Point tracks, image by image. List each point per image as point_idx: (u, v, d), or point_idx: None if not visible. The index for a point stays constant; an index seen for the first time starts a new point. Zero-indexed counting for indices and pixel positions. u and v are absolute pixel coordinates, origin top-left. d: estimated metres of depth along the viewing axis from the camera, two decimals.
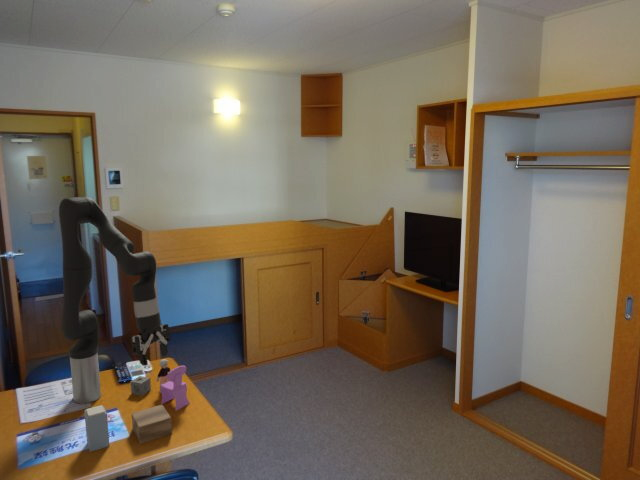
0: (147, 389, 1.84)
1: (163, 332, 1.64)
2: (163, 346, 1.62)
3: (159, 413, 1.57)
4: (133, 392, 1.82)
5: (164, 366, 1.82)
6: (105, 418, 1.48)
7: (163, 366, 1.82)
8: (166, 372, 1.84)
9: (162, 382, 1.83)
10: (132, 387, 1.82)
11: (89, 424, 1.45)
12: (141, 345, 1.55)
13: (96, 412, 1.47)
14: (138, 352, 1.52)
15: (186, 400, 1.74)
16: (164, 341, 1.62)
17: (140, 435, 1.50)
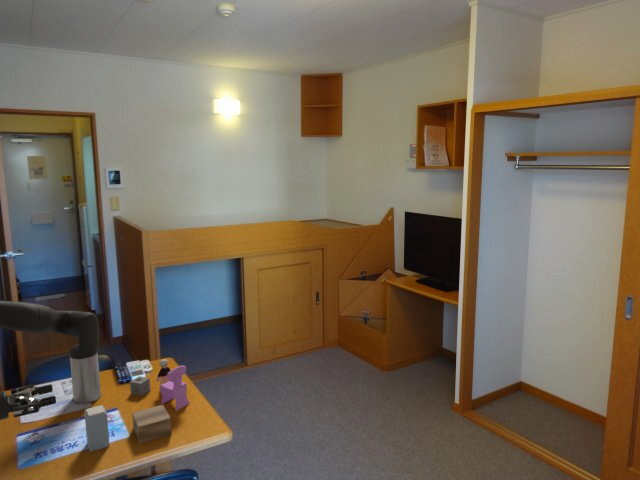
0: (146, 389, 1.83)
1: None
2: None
3: (159, 414, 1.57)
4: (132, 392, 1.82)
5: (164, 366, 1.82)
6: (105, 418, 1.48)
7: (163, 366, 1.82)
8: (166, 372, 1.84)
9: (162, 382, 1.83)
10: (131, 387, 1.82)
11: (89, 424, 1.45)
12: None
13: (96, 412, 1.47)
14: None
15: (186, 400, 1.74)
16: None
17: (139, 435, 1.50)
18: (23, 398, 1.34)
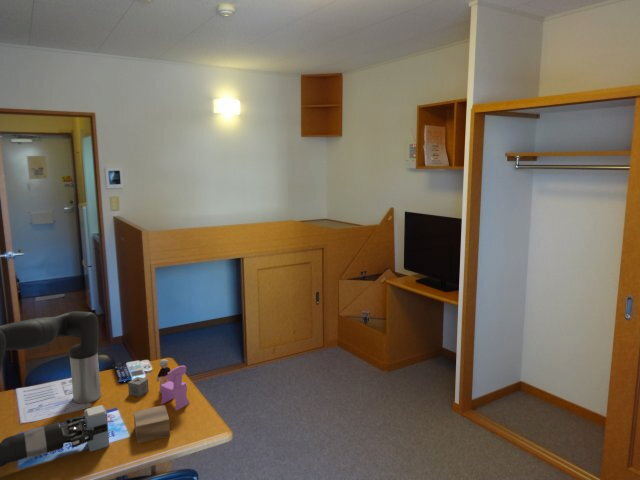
0: (145, 390, 1.83)
1: None
2: None
3: (159, 414, 1.57)
4: (130, 393, 1.81)
5: (164, 366, 1.82)
6: (105, 418, 1.48)
7: (163, 366, 1.82)
8: (166, 372, 1.84)
9: (162, 382, 1.83)
10: (130, 388, 1.81)
11: (89, 424, 1.45)
12: None
13: (96, 412, 1.47)
14: None
15: (186, 400, 1.74)
16: None
17: (137, 435, 1.51)
18: (77, 428, 1.44)
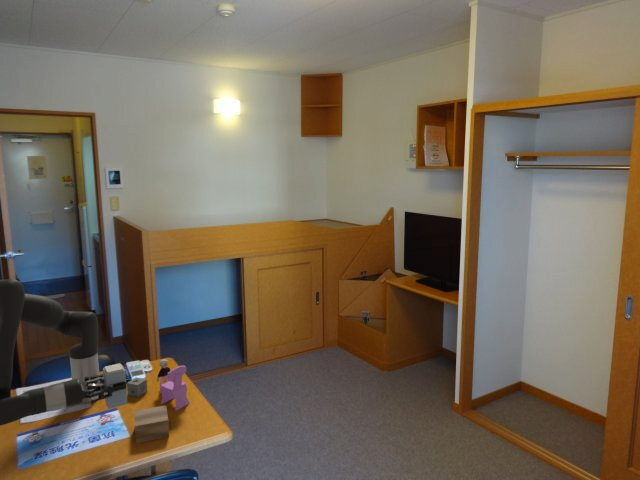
0: (143, 391, 1.82)
1: None
2: None
3: (159, 414, 1.57)
4: (129, 393, 1.81)
5: (164, 366, 1.82)
6: (124, 375, 1.47)
7: (163, 366, 1.82)
8: (166, 372, 1.84)
9: (162, 382, 1.83)
10: (128, 389, 1.81)
11: (108, 381, 1.45)
12: None
13: (115, 369, 1.46)
14: None
15: (186, 400, 1.74)
16: None
17: (136, 434, 1.51)
18: (96, 385, 1.43)
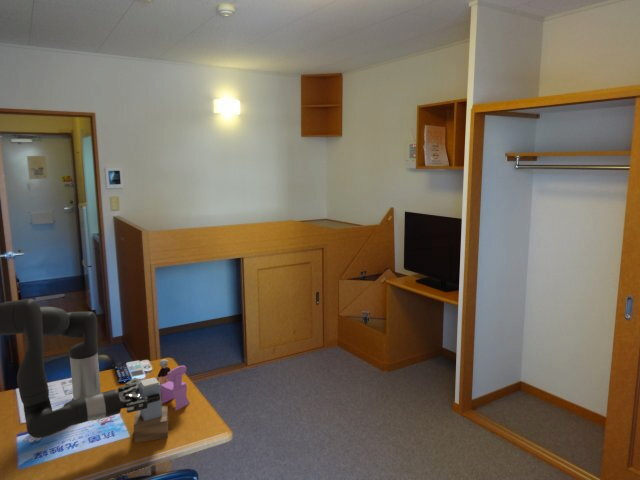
0: None
1: None
2: None
3: None
4: None
5: (164, 366, 1.82)
6: (159, 388, 1.54)
7: (163, 366, 1.82)
8: (166, 372, 1.84)
9: (162, 382, 1.83)
10: None
11: (144, 394, 1.52)
12: None
13: (150, 383, 1.53)
14: None
15: (186, 400, 1.74)
16: None
17: (135, 434, 1.51)
18: (132, 395, 1.50)
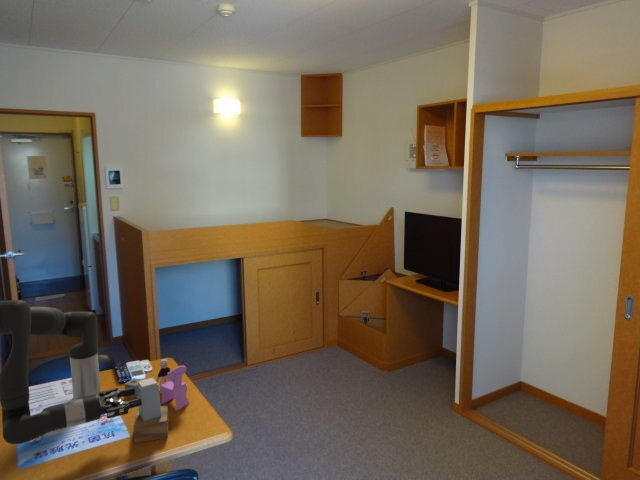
0: None
1: None
2: None
3: None
4: None
5: (164, 366, 1.82)
6: (157, 389, 1.54)
7: (163, 366, 1.82)
8: (166, 372, 1.84)
9: (162, 382, 1.83)
10: None
11: (143, 395, 1.51)
12: None
13: (148, 383, 1.53)
14: None
15: (186, 400, 1.74)
16: None
17: (134, 434, 1.51)
18: (113, 401, 1.47)
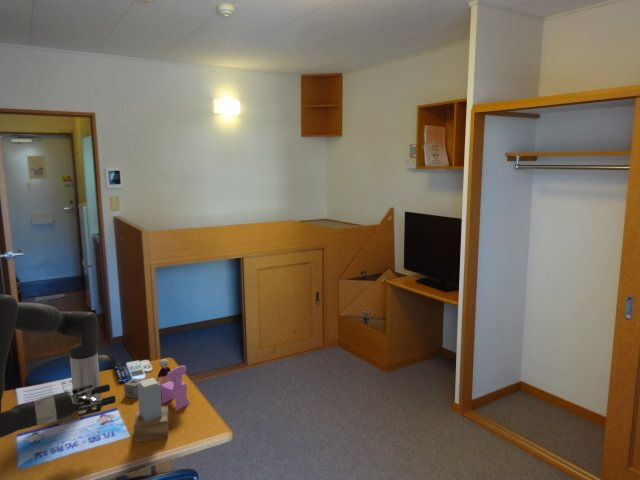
0: None
1: None
2: None
3: None
4: (126, 394, 1.80)
5: (164, 366, 1.82)
6: (159, 389, 1.54)
7: (163, 366, 1.82)
8: (166, 372, 1.84)
9: (162, 382, 1.83)
10: (125, 390, 1.80)
11: (144, 395, 1.51)
12: None
13: (150, 384, 1.53)
14: None
15: (186, 400, 1.74)
16: None
17: (135, 433, 1.51)
18: (86, 398, 1.43)
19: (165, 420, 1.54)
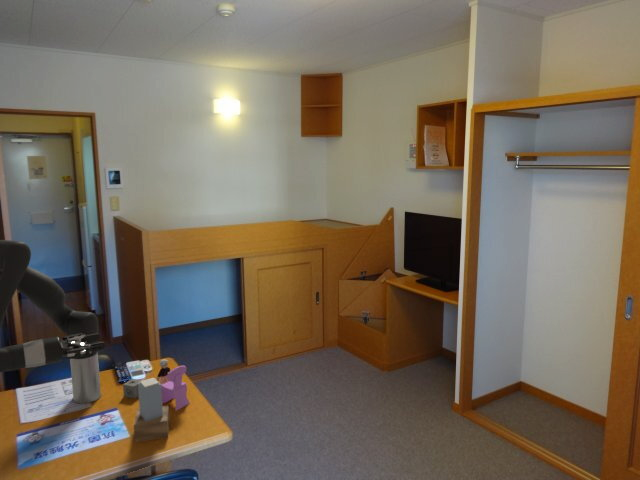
0: None
1: None
2: None
3: None
4: (125, 395, 1.80)
5: (164, 366, 1.82)
6: (160, 388, 1.54)
7: (163, 366, 1.82)
8: (166, 372, 1.84)
9: (162, 382, 1.83)
10: (124, 390, 1.80)
11: (145, 395, 1.52)
12: None
13: (151, 383, 1.53)
14: None
15: (186, 400, 1.74)
16: None
17: (135, 433, 1.51)
18: (75, 343, 1.44)
19: (165, 420, 1.54)
